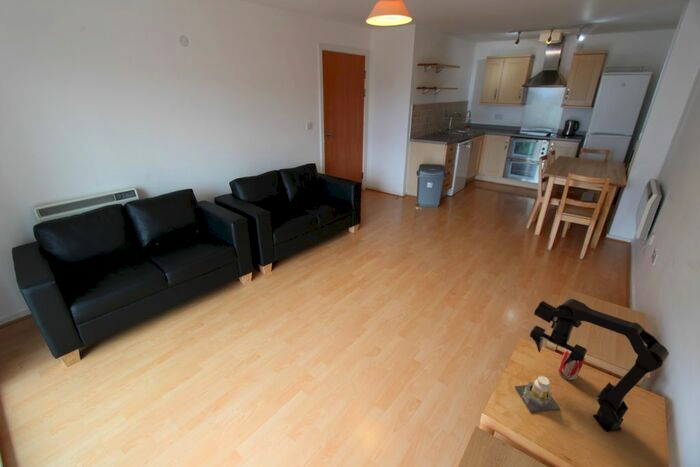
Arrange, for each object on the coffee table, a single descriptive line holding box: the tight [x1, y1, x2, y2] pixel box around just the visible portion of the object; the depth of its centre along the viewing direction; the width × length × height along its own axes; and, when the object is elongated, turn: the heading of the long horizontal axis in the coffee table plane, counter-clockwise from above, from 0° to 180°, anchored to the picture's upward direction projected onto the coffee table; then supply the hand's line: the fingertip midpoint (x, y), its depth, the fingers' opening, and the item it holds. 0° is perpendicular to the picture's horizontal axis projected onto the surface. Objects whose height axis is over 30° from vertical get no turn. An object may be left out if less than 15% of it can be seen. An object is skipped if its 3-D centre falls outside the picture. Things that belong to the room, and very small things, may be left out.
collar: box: [514, 381, 561, 413], centre depth 130 cm, size 11×12×4 cm
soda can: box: [557, 349, 586, 381], centre depth 139 cm, size 7×7×13 cm
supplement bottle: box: [531, 375, 551, 399], centre depth 128 cm, size 5×5×10 cm
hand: (551, 357), depth 133 cm, fingers open, 9 cm apart
